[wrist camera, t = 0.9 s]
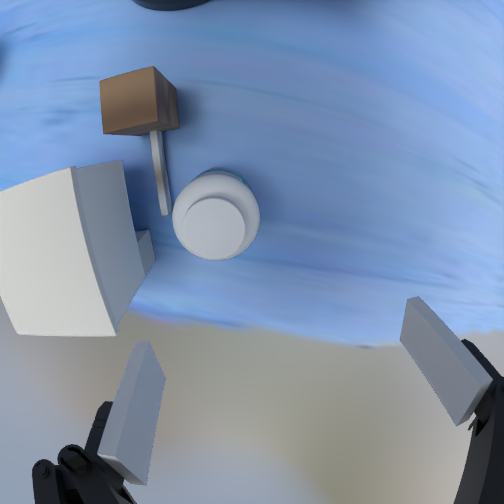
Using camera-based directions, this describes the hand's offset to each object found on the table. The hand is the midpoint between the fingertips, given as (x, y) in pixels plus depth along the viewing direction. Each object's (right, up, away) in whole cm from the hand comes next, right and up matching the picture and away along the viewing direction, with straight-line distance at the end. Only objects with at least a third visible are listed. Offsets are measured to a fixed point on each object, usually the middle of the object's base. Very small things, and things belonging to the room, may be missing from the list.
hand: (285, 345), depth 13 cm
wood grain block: (-12, +16, +17) cm, 27 cm away
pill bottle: (-5, +11, +20) cm, 23 cm away
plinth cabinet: (-20, +9, +19) cm, 30 cm away
